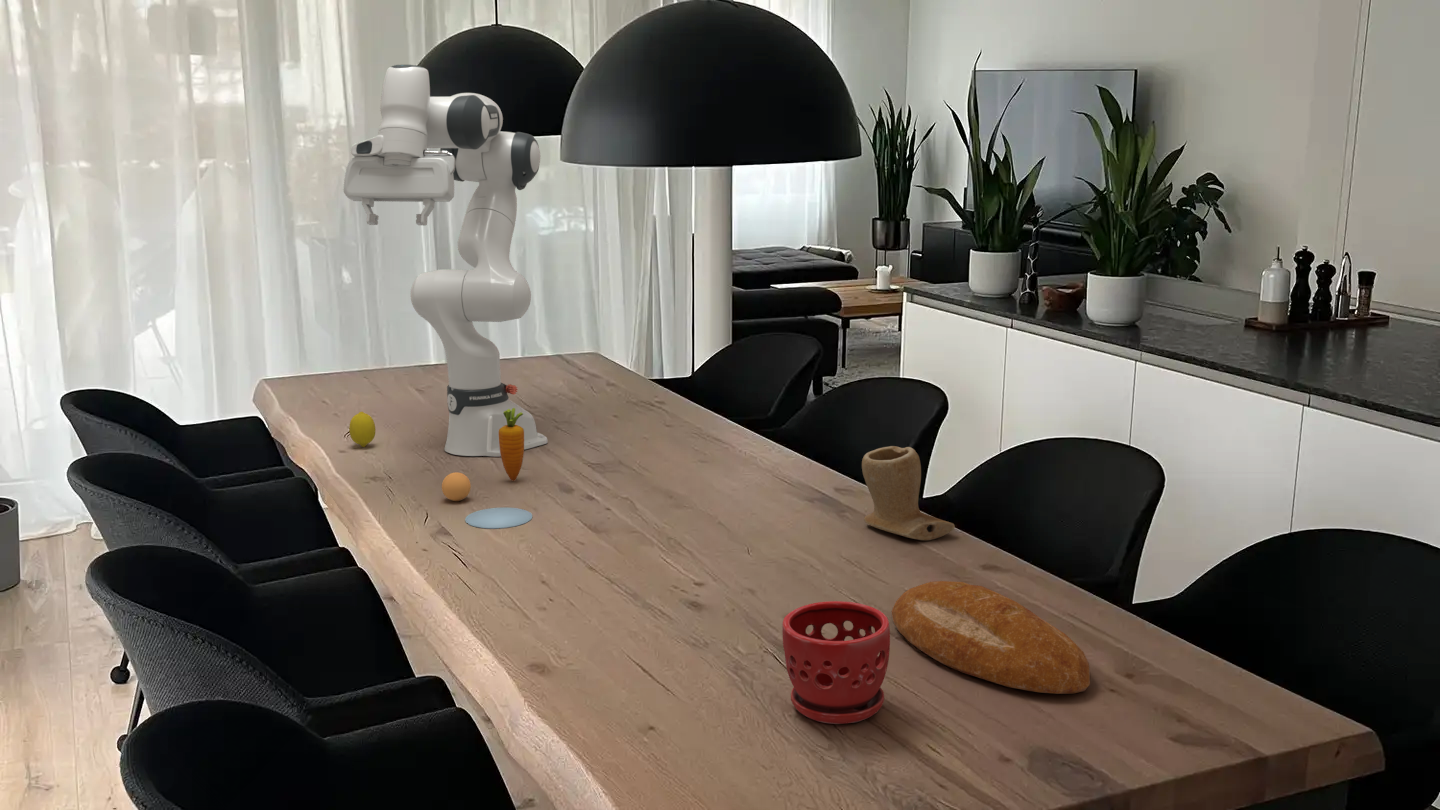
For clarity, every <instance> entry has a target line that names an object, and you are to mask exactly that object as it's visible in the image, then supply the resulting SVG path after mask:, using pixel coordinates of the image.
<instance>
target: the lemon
mask: <svg viewBox="0 0 1440 810" xmlns="http://www.w3.org/2000/svg"><path fill="white" fill-rule="evenodd" d="M348 427H349V428H348V431H349V436H350V438H351V440H352V441H353V442H354V443H355V444H357V445H359V446H361V447H362V448H366V446H367V445H368V444H370V443H371V442H372V441H373V440H374V438H375V435H376V424H375V422H374V419H373V417H372V416H371V415H369V414H368V413H366V412H364V411H359V412H358V413H356V414H355V415H353V417H352V418H351V420H350V421H349V426H348Z"/></svg>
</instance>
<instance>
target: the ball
mask: <svg viewBox="0 0 1440 810" xmlns="http://www.w3.org/2000/svg"><path fill="white" fill-rule="evenodd" d="M471 489H472V486H471V481H470V479H469V477H468V476H466V475H465V474H464V473H462V472H458V471H457V472H456V471H455V472H451V473H449V474H448V475H446V476H445V477H444V479H443V480H442V483H441V490H442V493H443V495H444V497H445V498H447V499H448V500H450V501H454V502H459V501H462V500H464V499H466V498H467V497H468V495H470V492H471Z"/></svg>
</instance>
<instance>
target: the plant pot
mask: <svg viewBox="0 0 1440 810" xmlns="http://www.w3.org/2000/svg"><path fill="white" fill-rule="evenodd" d="M845 622H850V623H851V625H852V629H847V628H846V627H845ZM827 624H831V625H834V626H835V628H836V629H837V633H836V635H835V636H834V637H832V638H827V637H825V636H824V635H823V634H822V630H823V628H824V626H825V625H827ZM781 625H782V626H781V627H782V634H781V635H782V647H783V651H784V657H785V666H786V671H787V674H788V678H789V680H790V682H791V684H792V687H793V688H792V689H791V692H790V701H791V703H792V705H793V706H794V708H795V709H796V710H797V711H798V712H799V713H800V714H802V715H803V716H805V717H807V718H809V719H811V720H813V721H817V722H820V723H823V724H832V725H833V724H835V725H843V724H845V725H846V724H851V723H853V724H855V723H860V722H861V721H863V720H867V719H868V718H870V717H872V716H874V715H875V714H876V713H877V712H879V710H880V709H881V708H882V707H883V706H884V705H883V704H884V702H885V692H884V690H883V689H882V687H881V686H882V684H883V682H884V680H885V677H886V673H887V670H888V665H889V658H890V649H891V630H890V629H891V628H890V622H889V619H888V617H887V615H885V614H884V613H883V611H881V610H879V609H877V608H875V607H872V606H870V605H867V604H863V603H860V602H859V603H858V602H852V601H842V600H841V601H839V600H838V601H837V600H836V601H834V600H831V601H820V602H812V603H809V604H805V605H802V606H800V607H798V608H795V609H793V610H792V611H790V612H788V614H786V615H785V616H784V618H783V620H782V624H781ZM809 626H812V631H811V632H810V633H807V628H808V627H809ZM872 628H873V630H874V632H873V631H872ZM860 630H863V632H864V633H865V634H864V635H862V634H861V633H860ZM847 637H851V638H852V639H849V640H845V639H846V638H847Z"/></svg>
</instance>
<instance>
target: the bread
mask: <svg viewBox="0 0 1440 810" xmlns="http://www.w3.org/2000/svg"><path fill="white" fill-rule="evenodd" d="M891 616H892V621H893V624H894V626H895V627H896V629H897V630H898V632H899V633H900V634H901V635H902V636H903V637H904V638H905V639H906V640H907V641H908V642H909V643H910V644H912V645H913V646H914V647H915V648H917V649H918V650H920V651H921V652H923V653H924V654H926V655H927V656H929V657H931V658H933V659H934V660H935V661H938V662H939V663H941V664H943V665H945V666H947V667H949V668H951V669H953V670H955V671H958V672H960V673H962V674H966V675H969V676H972V677H976V678H979V679H982V680H985V681H988V682H991V683H994V684H997V685H1000V686H1004V687H1006V688H1012V689H1018V690H1021V691H1022V690H1023V691H1028V692H1035V693H1042V694H1057V695H1058V694H1061V695H1062V694H1065V695H1067V694H1071V695H1072V694H1077V693H1082V692H1085V691H1086V690H1087V689H1088V687H1089V686H1091V685H1090V684H1091V681H1090V677H1091V676H1090V663H1089V661H1088V659H1087V657H1086V654H1085V652H1084V650H1083V649H1081V648H1080V647H1079V646H1078V644H1077V643H1075V642H1074V641H1073V640H1072V639H1071V638H1070V637H1069V636H1068V635H1067V634H1066V633H1064V632H1063V631H1062V630H1059V629H1058V628H1057V627H1055V626H1054V625H1052V624H1050V623H1049V622H1047V621H1046V620H1044V619H1043V618H1041V616H1038V615H1036V614H1035V613H1034V612H1033V611H1031V610H1030V609H1028V608H1026V607H1025V606H1024V605H1022V604H1021V603H1019V602H1018V601H1015V600H1013V599H1011V598H1010V597H1007V596H1005V595H1003V594H1001V593H998V592H997V591H994V590H991V589H989V588H987V587H985V586H983V585H976V584H969V583H967V582H964V581H953V580H952V581H949V580H937V581H935V580H934V581H928V582H926V583H925V582H924V583H922V584H919V585H917V586H914V587H911V588H909V589H907V590H906V591H904V592H903V593H902V594H901V595H900V596H899V598H897V600H896V601H895V603H894V605H893V607H892V609H891Z"/></svg>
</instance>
